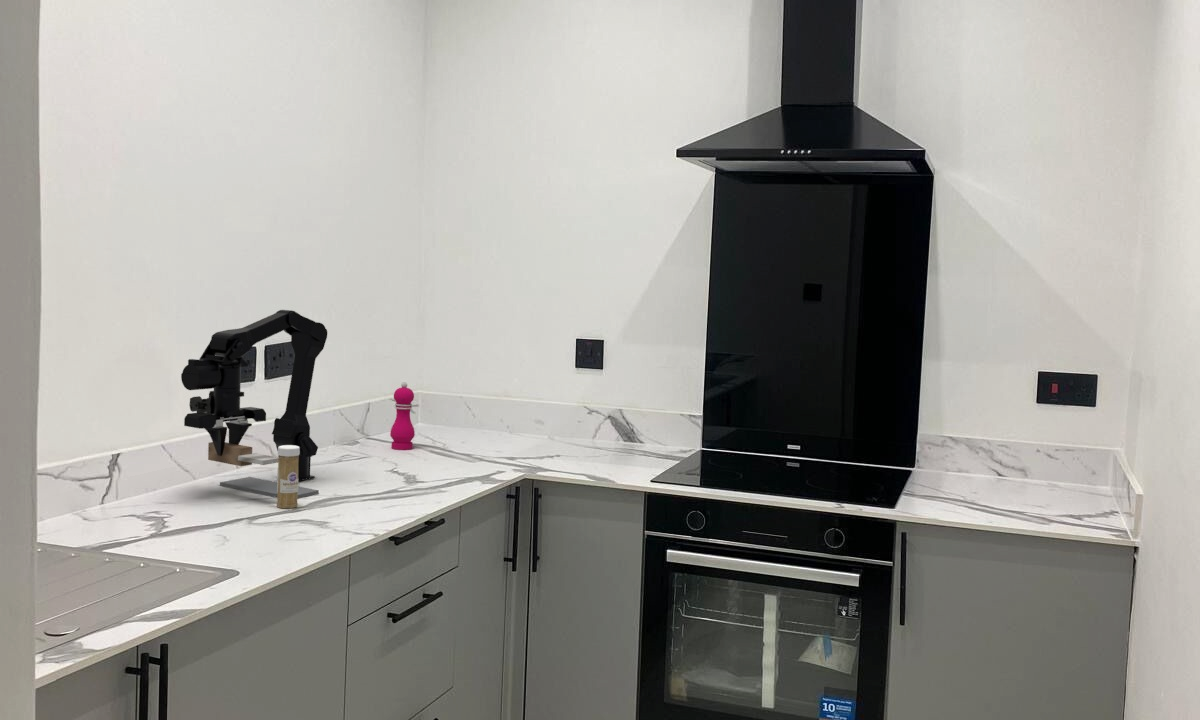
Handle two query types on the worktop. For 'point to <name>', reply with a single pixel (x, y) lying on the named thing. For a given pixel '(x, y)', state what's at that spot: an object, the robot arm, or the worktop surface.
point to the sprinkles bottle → (287, 476)
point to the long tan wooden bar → (239, 455)
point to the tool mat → (263, 487)
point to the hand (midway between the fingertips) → (225, 454)
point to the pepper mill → (403, 419)
